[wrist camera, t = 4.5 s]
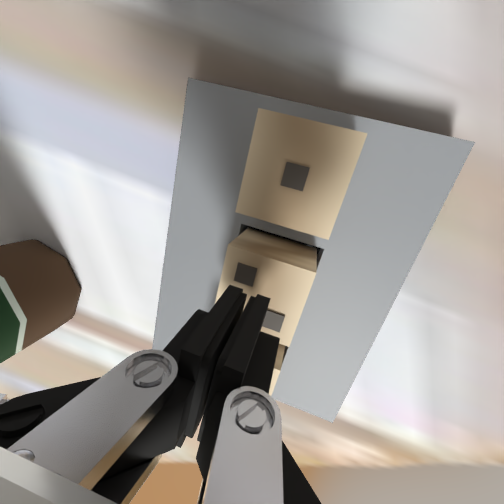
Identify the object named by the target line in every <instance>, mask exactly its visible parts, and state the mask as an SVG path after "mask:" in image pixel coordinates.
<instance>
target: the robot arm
mask: <svg viewBox="0 0 504 504" xmlns="http://www.w3.org/2000/svg"><path fill="white" fill-rule="evenodd" d="M246 298H247V294H245V293H243V289H242V288H239V287H236V286H233V285H229V286H228V287H227V289H226V290H225V291H224V293H223V294H222V295H221V297H220V298H219V299H218V301H217V302H216V303H215V305H214V306H213V307H212V309H211V310H210V311H209V312H206V311H203V310H200V309H198V310H197V311H196V312H195V313H194V314H193V315H192V316H191V318H190V319H189V320H188V321H187V322H186V323H185V325H184V326H183V327H182V328H181V329H180V331H179V332H178V333H177V334H176V335H175V336H174V338H173V339H172V340H171V341H170V342H169V343H168V345H167V346H166V347H165V348H164V349H163V351H161V350H155V349H149V350H142V351H139V352H136V353H134V354H132V355H130V356H129V357H127V358H126V359H125V360H123V361H122V362H121V363H119V364H118V365H117V366H115V367H114V368H113V369H111V370H110V371H109V372H107V373H106V374H105V375H104V376H102V377H99V378H95V379H90V380H86V381H82V382H77V383H73V384H69V385H64V386H60V387H55V388H51V389H47V390H42V391H38V392H34V393H29V394H25V395H22V396H19V397H16V398H13V399H11V400H7V395H6V394H0V504H129V503H130V502H131V500H132V499H133V497H134V496H135V495H136V493H137V492H138V490H139V489H140V488H141V486H142V485H143V483H144V482H145V481H146V479H147V478H148V476H149V475H150V474H151V472H152V471H153V469H154V468H155V466H156V465H157V464H158V462H159V460H160V458H161V456H162V454H163V453H165V452H168V451H170V450H172V449H175V447H176V446H178V447H180V448H181V446H182V444H183V442H184V440H185V438H186V436H188V437H190V438H193V436H194V434H195V432H196V429H197V427H198V425H199V423H200V421H201V419H202V422H201V426H200V430H199V434H198V438H197V441H200V445H199V448H198V452H197V456H196V460H197V462H198V465H199V468H200V471H201V474H202V477H203V481H202V484H201V488H200V493H199V497H198V502H197V504H321V502H320V501H319V499H318V497H317V496H316V494H315V493H314V491H313V489H312V488H311V486H310V484H309V483H308V481H307V480H306V478H305V477H304V475H303V473H302V472H301V470H300V468H299V467H298V465H297V464H296V462H295V460H294V459H293V457H292V455H291V454H290V452H289V451H288V449H287V447H286V446H285V444H284V443H283V441H282V426H281V414H280V409H279V407H278V405H277V403H276V402H275V400H274V399H273V398H272V397H271V396H270V395H269V390H270V385H271V380H272V375H273V370H274V366H275V361H276V356H277V351H278V346H279V342H280V338H278V337H276V336H273V335H270V334H267V333H264V332H262V331H261V328H262V325H263V322H264V319H265V316H266V312H267V309H268V306H269V303H270V299H271V298H268V297H265V296H262V295H259V294H257V296H256V297H254V296H251V297H250V298H249V300H248V302H247V304H246V306H245V308H244V305H245V301H246ZM243 309H244V310H243ZM203 414H204V415H203ZM202 416H203V418H202Z"/></svg>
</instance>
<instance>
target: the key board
mask: <svg viewBox="0 0 504 504" xmlns="http://www.w3.org/2000/svg"><path fill="white" fill-rule="evenodd" d="M258 108H261V109H266V110H270V111H274V112H278V113H283V114H287V115H291V116H296V117H300V118H304V119H308V120H313V121H317V122H321V123H325V124H330V125H334V126H338V127H343V128H347V129H351V130H355V131H360V132H364V133H368V134H367V137H366V139H365V142H364V145H363V148H362V150H361V153H360V156H359V158H358V161H357V164H356V167H355V169H354V172H353V175H352V178H351V180H350V183H349V186H348V188H347V191H346V194H345V197H344V199H343V202H342V205H341V207H340V210H339V213H338V216H337V218H336V221H335V224H334V227H333V229H332V232H331V235H330V237H329V240H327V239H324V238H320V237H317V236H314V235H310V234H307V233H304V232H300V231H297V230H294V229H290V228H287V227H284V226H280V225H277V224H274V223H270V222H267V221H264V220H260V219H257V218H254V217H250V216H247V215H243V214H240V213H237V212H235V211H236V207H237V202H238V198H239V193H240V189H241V184H242V180H243V175H244V171H245V166H246V162H247V157H248V153H249V148H250V144H251V139H252V135H253V130H254V126H255V121H256V117H257V112H258ZM474 143H475V142H472V141H467V140H463V139H459V138H454V137H450V136H445V135H441V134H436V133H432V132H427V131H423V130H419V129H414V128H410V127H405V126H401V125H396V124H392V123H388V122H383V121H379V120H374V119H370V118H365V117H361V116H356V115H352V114H348V113H343V112H339V111H334V110H330V109H325V108H321V107H316V106H312V105H308V104H303V103H299V102H294V101H290V100H285V99H281V98H277V97H272V96H268V95H263V94H259V93H254V92H250V91H245V90H241V89H237V88H232V87H228V86H223V85H219V84H214V83H210V82H205V81H201V80H197V79H192V78H188V83H187V91H186V98H185V106H184V114H183V121H182V129H181V136H180V144H179V151H178V159H177V166H176V174H175V181H174V189H173V197H172V204H171V212H170V219H169V227H168V234H167V242H166V249H165V257H164V264H163V272H162V280H161V287H160V295H159V302H158V310H157V317H156V325H155V332H154V340H153V347H152V349H155V350H161V351H163V349H164V348H165V347H166V346H167V345H168V343H169V342H170V341H171V340H172V339H173V338H174V336H175V335H176V334H177V333H178V332H179V331H180V329H181V328H182V327H183V326H184V325H185V323H186V322H187V321H188V320H189V319H190V318H191V316H192V315H193V314H194V313H195V312H196V311H197V310H198V309H200V310H203V311H206V312H209V311H210V310H211V309H212V307H213V306H214V305H215V301H216V296H217V292H218V287H219V283H220V278H221V274H222V269H223V265H224V260H225V256H226V251H227V247H228V244H229V243H231V242H232V241H233V240H234V239H235V238H237V237H238V236H239V235H240V234H241V233H243V232H244V231H245V230H246V229H247V228H248V226H251V227H254V228H257V229H260V230H264V231H267V232H270V233H274V234H277V235H280V236H283V237H287V238H290V239H293V240H297V241H300V242H303V243H306V244H310V245H313V246H316V247H320V251H319V254H318V257H317V272H316V276H315V278H314V281H313V284H312V287H311V289H310V292H309V295H308V297H307V300H306V303H305V306H304V308H303V311H302V314H301V316H300V319H299V322H298V325H297V327H296V330H295V333H294V336H293V338H292V341H291V344H290V346H289V347H287V346H285V350H284V355H283V360H282V366H281V371H280V374H279V376H278V379H277V382H276V385H275V387H274V390H273V393H272V395H271V397H272V398H273V399H275V400H277V401H280V402H282V403H285V404H287V405H290V406H292V407H295V408H297V409H300V410H302V411H305V412H307V413H310V414H312V415H315V416H317V417H320V418H322V419H325V420H327V421H330V422H332V423H333V421H334V419H335V417H336V415H337V413H338V411H339V409H340V407H341V405H342V403H343V401H344V399H345V397H346V396H347V394H348V392H349V390H350V388H351V386H352V384H353V382H354V380H355V378H356V376H357V374H358V372H359V370H360V368H361V366H362V364H363V362H364V360H365V358H366V356H367V354H368V352H369V350H370V348H371V346H372V344H373V342H374V340H375V338H376V336H377V334H378V332H379V330H380V328H381V327H382V325H383V323H384V321H385V319H386V317H387V315H388V313H389V311H390V309H391V307H392V305H393V303H394V301H395V299H396V297H397V295H398V293H399V291H400V289H401V287H402V285H403V283H404V281H405V279H406V277H407V275H408V273H409V271H410V269H411V267H412V265H413V263H414V261H415V259H416V258H417V256H418V254H419V252H420V250H421V248H422V246H423V244H424V242H425V240H426V238H427V236H428V234H429V232H430V230H431V228H432V226H433V224H434V222H435V220H436V218H437V216H438V214H439V212H440V210H441V208H442V206H443V204H444V202H445V200H446V198H447V196H448V194H449V192H450V191H451V189H452V187H453V185H454V183H455V181H456V179H457V177H458V175H459V173H460V171H461V169H462V167H463V165H464V163H465V161H466V159H467V157H468V155H469V153H470V151H471V149H472V147H473V145H474Z"/></svg>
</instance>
